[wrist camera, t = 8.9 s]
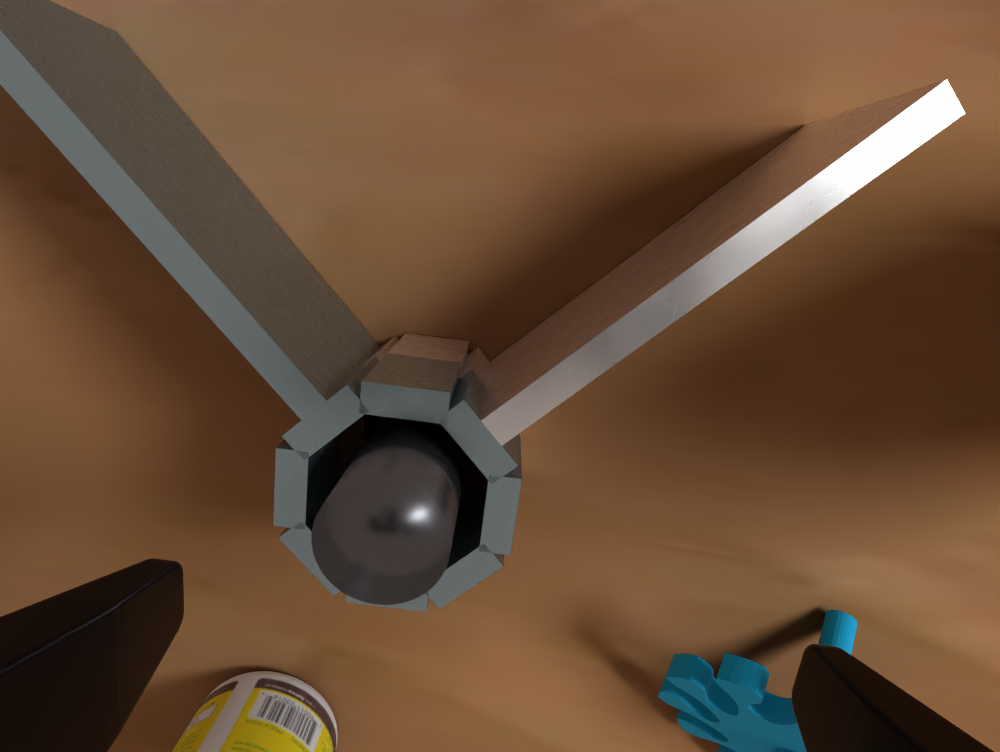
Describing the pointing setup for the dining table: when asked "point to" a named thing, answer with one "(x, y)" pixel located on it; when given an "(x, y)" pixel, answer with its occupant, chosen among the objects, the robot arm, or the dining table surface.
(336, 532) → the hinge pin
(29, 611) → the robot arm
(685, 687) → the gear
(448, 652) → the dining table surface
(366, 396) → the hinge fixture
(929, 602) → the dining table surface
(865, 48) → the dining table surface
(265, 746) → the supplement bottle
